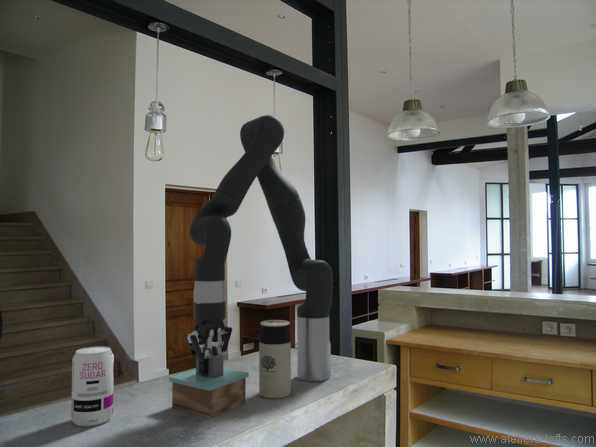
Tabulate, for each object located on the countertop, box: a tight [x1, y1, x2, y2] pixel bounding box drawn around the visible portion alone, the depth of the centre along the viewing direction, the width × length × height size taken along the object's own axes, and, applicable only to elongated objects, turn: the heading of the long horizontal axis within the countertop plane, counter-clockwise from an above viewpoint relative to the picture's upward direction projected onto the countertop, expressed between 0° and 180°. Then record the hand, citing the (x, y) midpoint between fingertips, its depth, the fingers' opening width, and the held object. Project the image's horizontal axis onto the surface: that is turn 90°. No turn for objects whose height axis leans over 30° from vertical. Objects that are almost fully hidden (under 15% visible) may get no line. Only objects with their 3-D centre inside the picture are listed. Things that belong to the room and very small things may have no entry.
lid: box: [168, 352, 249, 391], centre depth 111 cm, size 13×13×7 cm
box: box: [171, 378, 247, 419], centre depth 111 cm, size 12×12×6 cm
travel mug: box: [258, 319, 292, 400], centre depth 119 cm, size 8×8×18 cm
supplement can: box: [70, 346, 115, 427], centre depth 101 cm, size 8×8×15 cm
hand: (209, 372), depth 111 cm, fingers closed on lid, 3 cm apart
